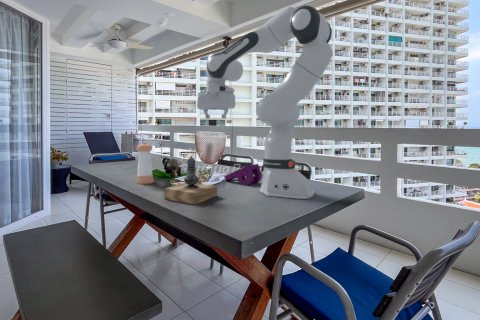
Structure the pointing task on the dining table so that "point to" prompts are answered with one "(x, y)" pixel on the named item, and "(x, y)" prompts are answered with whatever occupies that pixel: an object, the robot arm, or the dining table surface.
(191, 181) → the dark grey upright piece
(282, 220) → the dining table surface
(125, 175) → the dining table surface
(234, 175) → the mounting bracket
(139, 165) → the salt shaker
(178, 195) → the stand
